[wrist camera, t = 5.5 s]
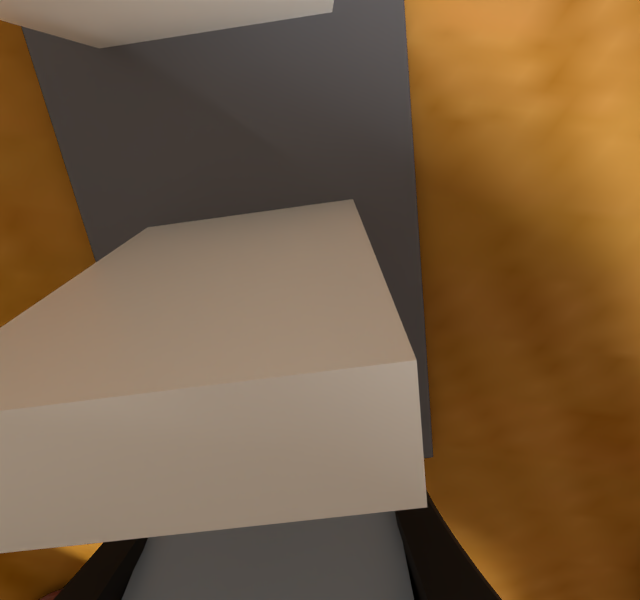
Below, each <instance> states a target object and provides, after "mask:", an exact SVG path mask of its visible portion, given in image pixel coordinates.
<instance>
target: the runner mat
mask: <svg viewBox="0 0 640 600" xmlns="http://www.w3.org/2000/svg"><path fill="white" fill-rule="evenodd" d="M21 27H22V26H21ZM22 30H23V34H24V37H25V40H26V43H27V46H28V49H29V53H30V56H31V59H32V62H33V65H34V68H35V71H36V75H37V78H38V81H39V84H40V87H41V90H42V94H43V97H44V100H45V103H46V106H47V109H48V112H49V116H50V119H51V122H52V125H53V128H54V131H55V135H56V138H57V141H58V144H59V147H60V150H61V154H62V157H63V160H64V163H65V166H66V169H67V172H68V176H69V179H70V182H71V185H72V188H73V191H74V195H75V198H76V201H77V204H78V207H79V210H80V213H81V217H82V220H83V223H84V226H85V229H86V232H87V236H88V239H89V242H90V245H91V248H92V251H93V255H94V258H95V261H96V262H97V261H99V260H100V259H102V258H103V257H105V256H106V255H108V254H109V253H111V252H112V251H114V250H115V249H116V248H118V247H119V246H121V245H122V244H124V243H125V242H127V241H128V240H130V239H131V238H133V237H134V236H136V235H137V234H139V233H140V232H141V231H143V230H144V229H146V228H147V227H154V226H161V225H168V224H175V223H183V222H190V221H197V220H204V219H212V218H219V217H226V216H233V215H241V214H248V213H255V212H262V211H270V210H277V209H284V208H291V207H299V206H306V205H313V204H320V203H328V202H335V201H342V200H349V199H353V200H354V203H355V205H356V208H357V211H358V213H359V216H360V218H361V221H362V223H363V226H364V228H365V231H366V233H367V236H368V238H369V241H370V243H371V246H372V248H373V251H374V254H375V256H376V259H377V261H378V264H379V266H380V269H381V271H382V274H383V276H384V279H385V281H386V284H387V286H388V289H389V291H390V294H391V297H392V299H393V302H394V304H395V307H396V309H397V312H398V314H399V317H400V319H401V322H402V324H403V327H404V329H405V332H406V334H407V337H408V340H409V342H410V345H411V347H412V350H413V352H414V355H415V357H416V360H417V372H418V385H419V399H420V413H421V427H422V440H423V454H424V458H430V457H433V446H432V430H431V415H430V399H429V383H428V368H427V352H426V336H425V321H424V305H423V290H422V274H421V258H420V243H419V227H418V211H417V196H416V180H415V164H414V149H413V133H412V118H411V102H410V86H409V71H408V55H407V39H406V24H405V8H404V0H334V3H333V10H332V12H330V13H324V14H318V15H311V16H305V17H298V18H292V19H285V20H279V21H273V22H266V23H260V24H253V25H247V26H241V27H234V28H228V29H221V30H215V31H209V32H202V33H196V34H189V35H183V36H176V37H170V38H164V39H157V40H151V41H144V42H138V43H132V44H125V45H119V46H112V47H106V48H100V49H99V48H96V47H92V46H89V45H85V44H82V43H78V42H75V41H71V40H68V39H64V38H61V37H57V36H54V35H50V34H47V33H43V32H40V31H36V30H33V29H29V28H26V27H22Z"/></svg>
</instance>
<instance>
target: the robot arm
mask: <svg viewBox="0 0 640 600" xmlns="http://www.w3.org/2000/svg"><path fill="white" fill-rule="evenodd" d="M426 495H427V507H426V508H416V509H407V510H398V511H395V515H396V520H397V525H398V528H399V532H400V535H401V538H402V541H403V546H404V551H405V556H406V561H407V566H408V571H409V576H410V581H411V586H412V591H413V596H414V600H502V599H501V598H500V597H499V595H498V594H497V593H496V592H495V590H494V589H493V588H492V587H491V585H490V584H489V583H488V582H487V580H486V579H485V578H484V576H483V575H482V574H481V572H480V571H479V570H478V569H477V567H476V566H475V564H474V563H473V562H472V560H471V559H470V557H469V556H468V555H467V553H466V552H465V551H464V549H463V548H462V546H461V545H460V544H459V542H458V541H457V539H456V538H455V536H454V535H453V533H452V532H451V530H450V529H449V527H448V526H447V524H446V523H445V521H444V520H443V518H442V516H441V515H440V513H439V511H438V510H437V508H436V506H435V505H434V503H433V501H432V499H431V498H430V496H429V494H428V492H427V490H426ZM147 539H148V537H147V538H138V539H129V540H119V541H110V542H104V543H103V544H102V545H101V546H100V547H99V548H98V550H97V551H96V552H95V553H94V554H93V555H92V556H91V558H90V559H89V560H88V561H87V562H86V563H85V565H84V566H83V567H82V568H81V569H80V570H79V571H78V572H77V573H76V575H75V576H74V577H73V578H72V579H71V580H70V581H69V582H68V584H67V585H66V586H65V587H64V588H63V589H62V590H61V591H60V593H59V594H58V595H57V596H56V597H55V598H54V599H53V600H122V597H123V595H124V592H125V590H126V587H127V585H128V582H129V580H130V577H131V575H132V572H133V570H134V568H135V566H136V564H137V562H138V560H139V558H140V556H141V554H142V552H143V549H144V547H145V544H146V542H147Z"/></svg>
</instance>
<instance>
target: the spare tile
mask: <svg viewBox="0 0 640 600" xmlns="http://www.w3.org/2000/svg"><path fill="white" fill-rule="evenodd" d="M122 600H414V596H413V591H412V586H411V581H410V576H409V571H408V566H407V561H406V556H405V551H404V546H403V541H402V538H401V535H400V532H399V528H398V525H397V520H396V515H395V511H388V512H379V513H370V514H361V515H351V516H342V517H333V518H324V519H314V520H305V521H296V522H286V523H277V524H268V525H259V526H249V527H240V528H231V529H222V530H212V531H203V532H194V533H184V534H175V535H166V536H157V537H148V539H147V542H146V544H145V547H144V549H143V552H142V554H141V556H140V558H139V560H138V562H137V564H136V566H135V568H134V570H133V572H132V575H131V577H130V580H129V582H128V585H127V587H126V590H125V592H124V595H123V597H122Z"/></svg>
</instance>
